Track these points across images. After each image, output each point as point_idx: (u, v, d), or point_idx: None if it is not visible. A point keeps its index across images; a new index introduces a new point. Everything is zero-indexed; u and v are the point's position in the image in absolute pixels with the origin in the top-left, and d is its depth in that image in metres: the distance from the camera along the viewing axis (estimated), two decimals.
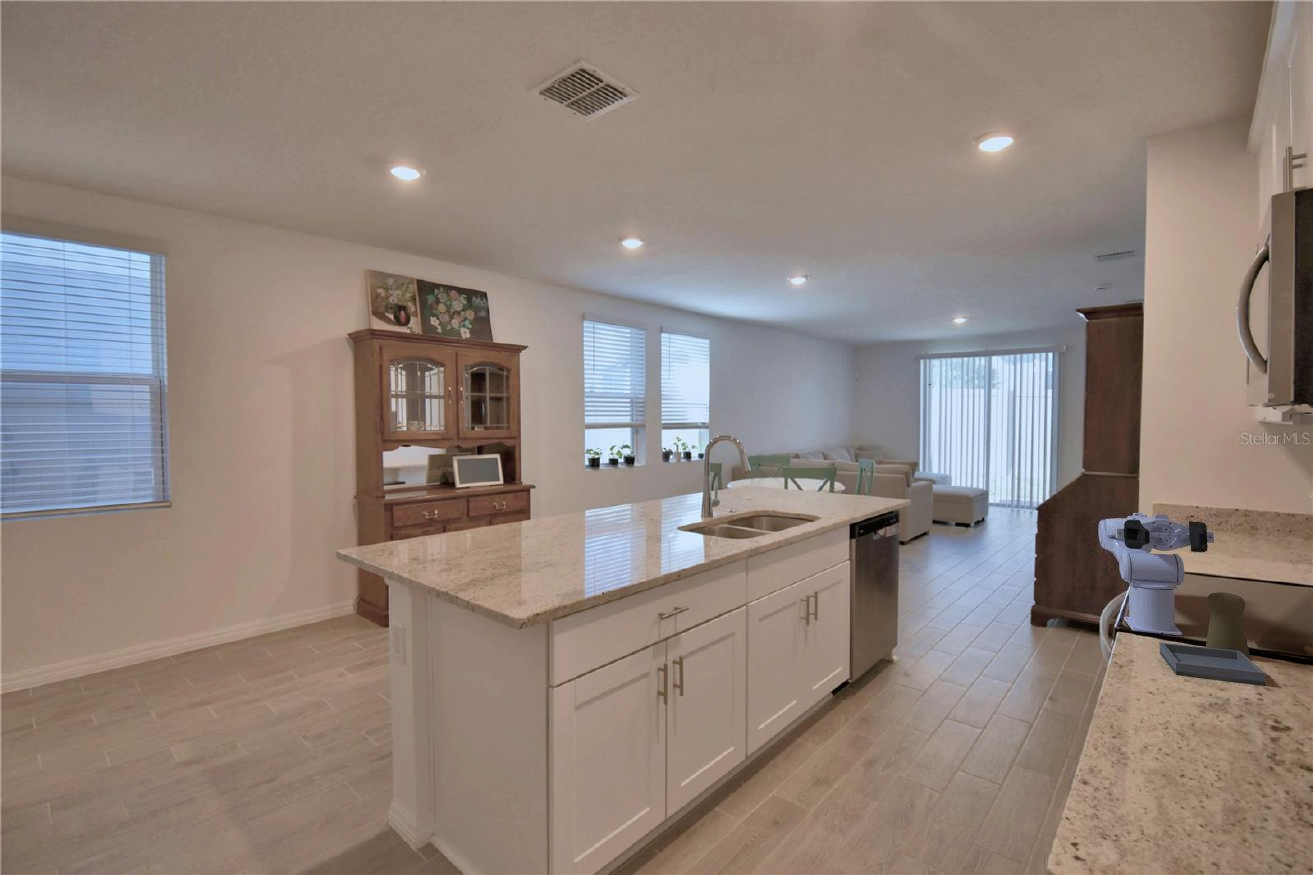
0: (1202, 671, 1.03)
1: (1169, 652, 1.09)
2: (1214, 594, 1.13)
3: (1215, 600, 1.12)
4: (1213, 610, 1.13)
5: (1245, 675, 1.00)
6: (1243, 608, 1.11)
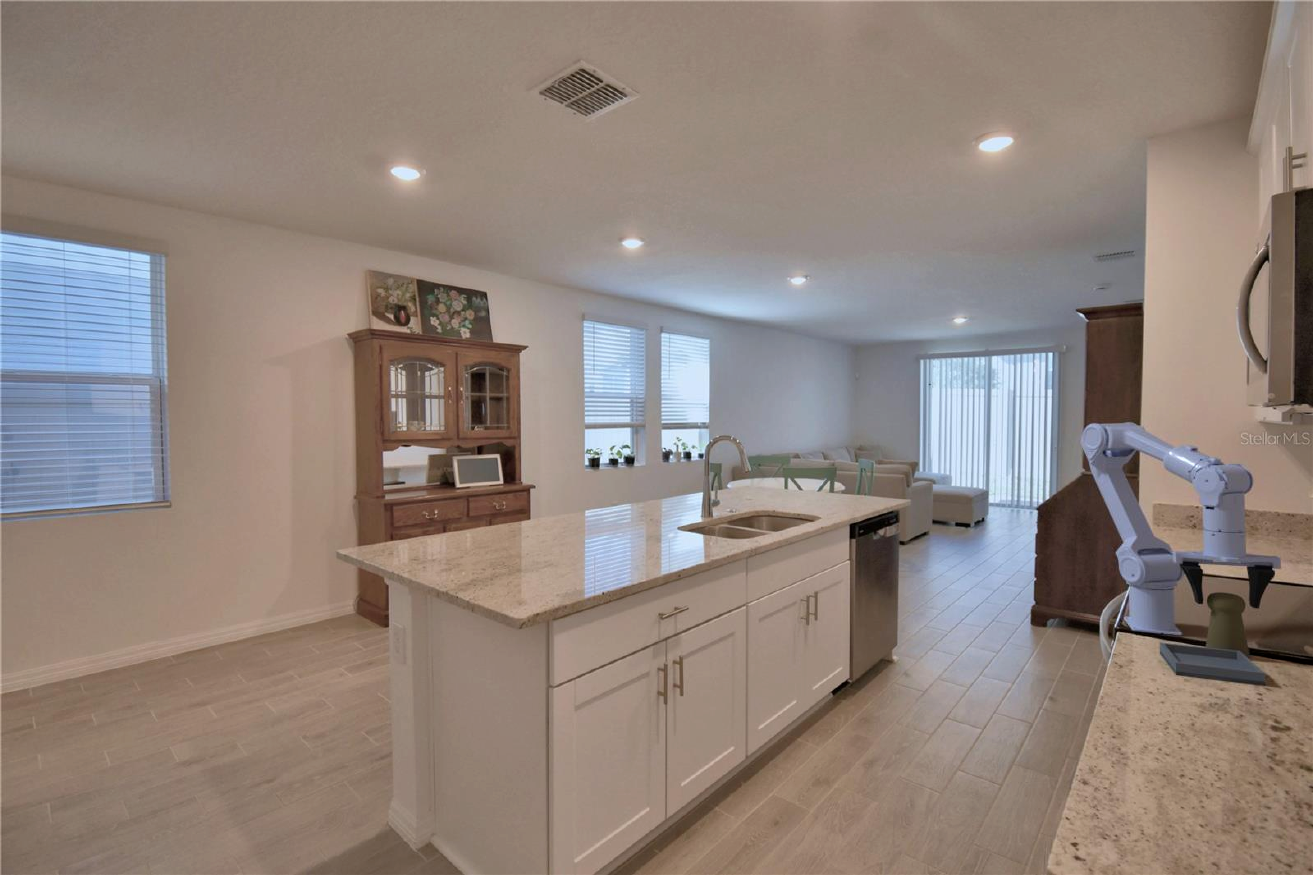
0: (1202, 671, 1.03)
1: (1169, 652, 1.09)
2: (1214, 594, 1.13)
3: (1215, 600, 1.12)
4: (1213, 610, 1.13)
5: (1245, 675, 1.00)
6: (1243, 608, 1.11)
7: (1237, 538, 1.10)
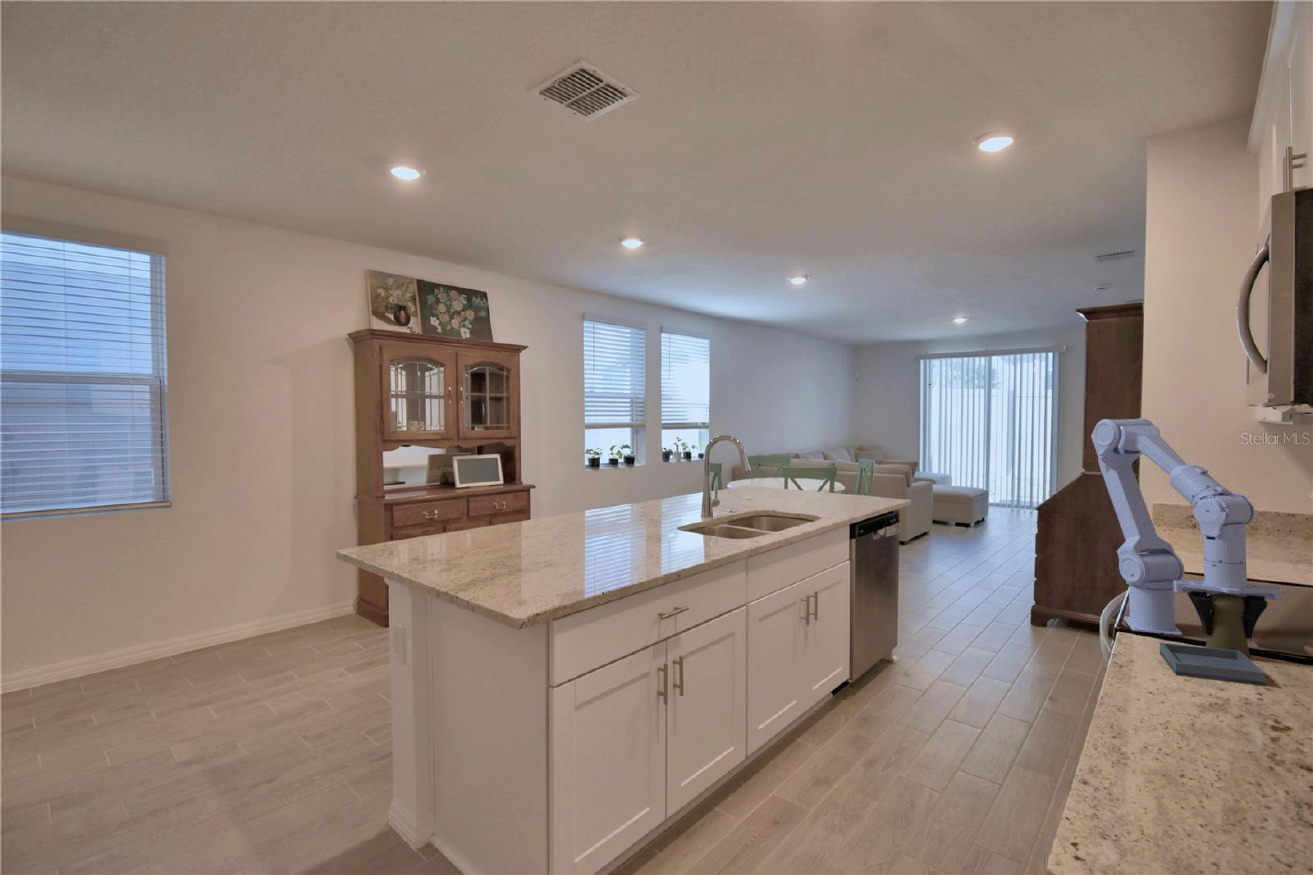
0: (1202, 671, 1.03)
1: (1169, 652, 1.09)
2: (1214, 594, 1.13)
3: (1215, 600, 1.12)
4: (1213, 610, 1.13)
5: (1245, 675, 1.00)
6: (1243, 608, 1.11)
7: (1238, 569, 1.10)
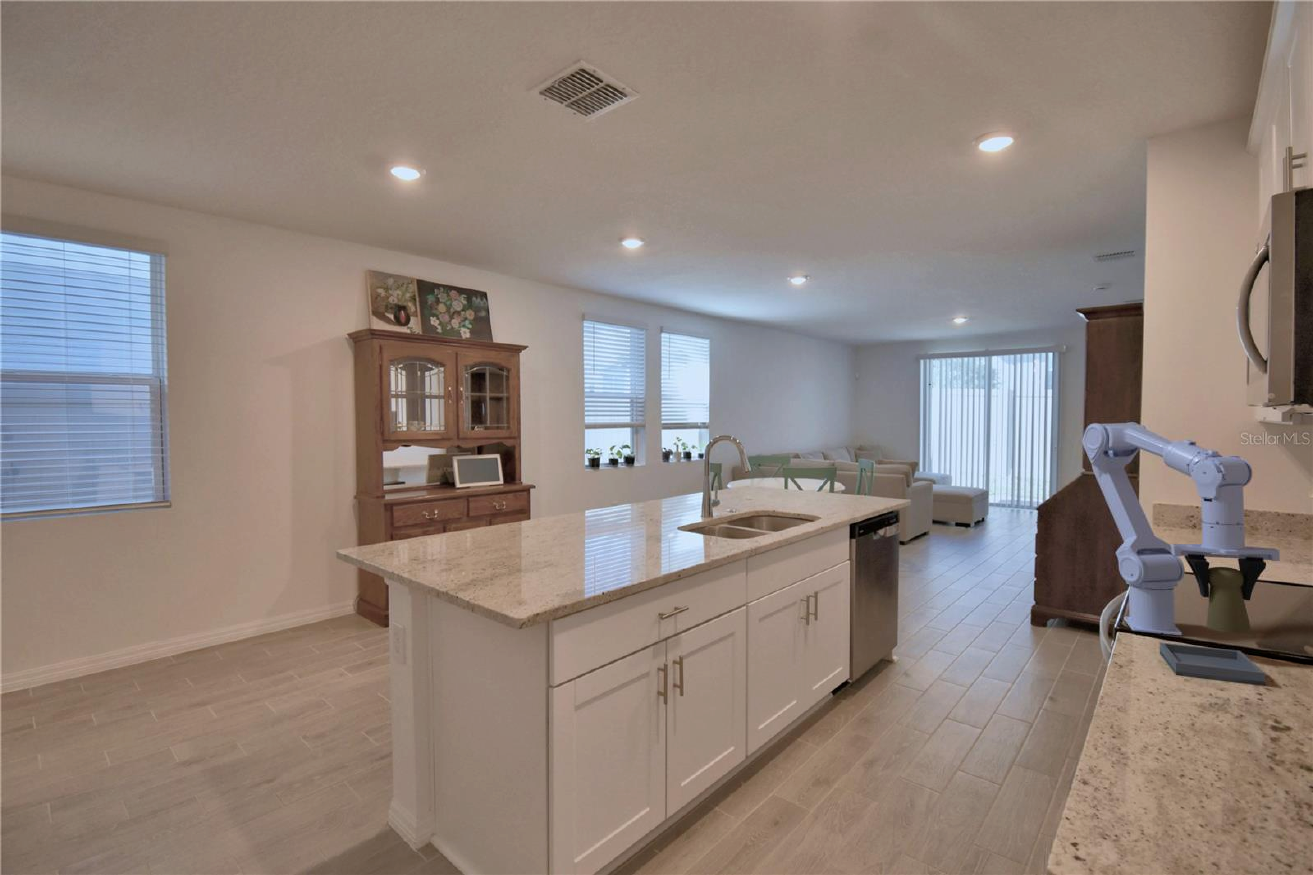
0: (1202, 671, 1.03)
1: (1169, 652, 1.09)
2: (1212, 568, 1.13)
3: (1213, 574, 1.12)
4: (1212, 584, 1.12)
5: (1245, 675, 1.00)
6: (1242, 581, 1.10)
7: (1236, 530, 1.10)
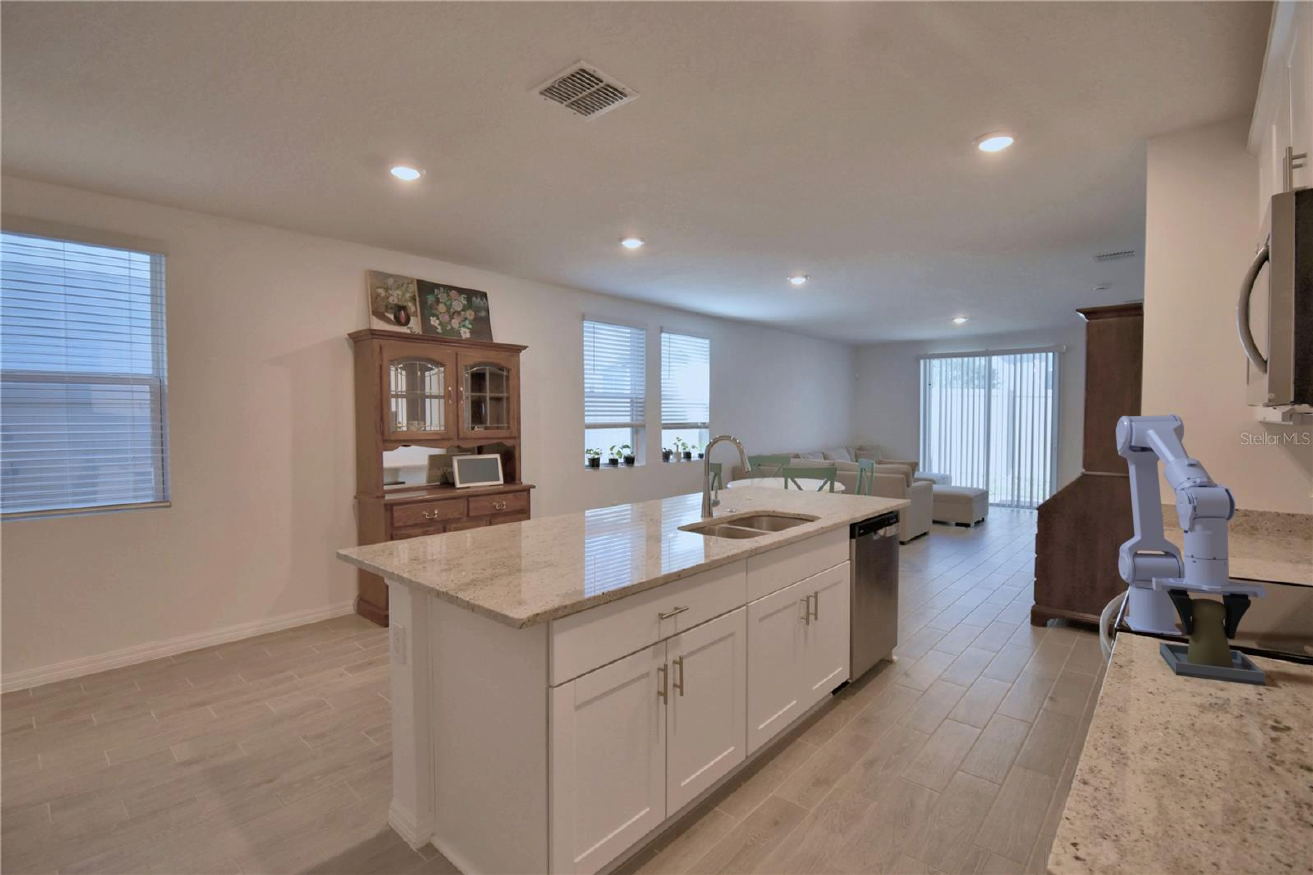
0: (1202, 671, 1.03)
1: (1169, 652, 1.09)
2: (1194, 600, 1.08)
3: (1194, 607, 1.06)
4: (1193, 617, 1.07)
5: (1245, 675, 1.00)
6: (1224, 615, 1.05)
7: (1219, 566, 1.04)
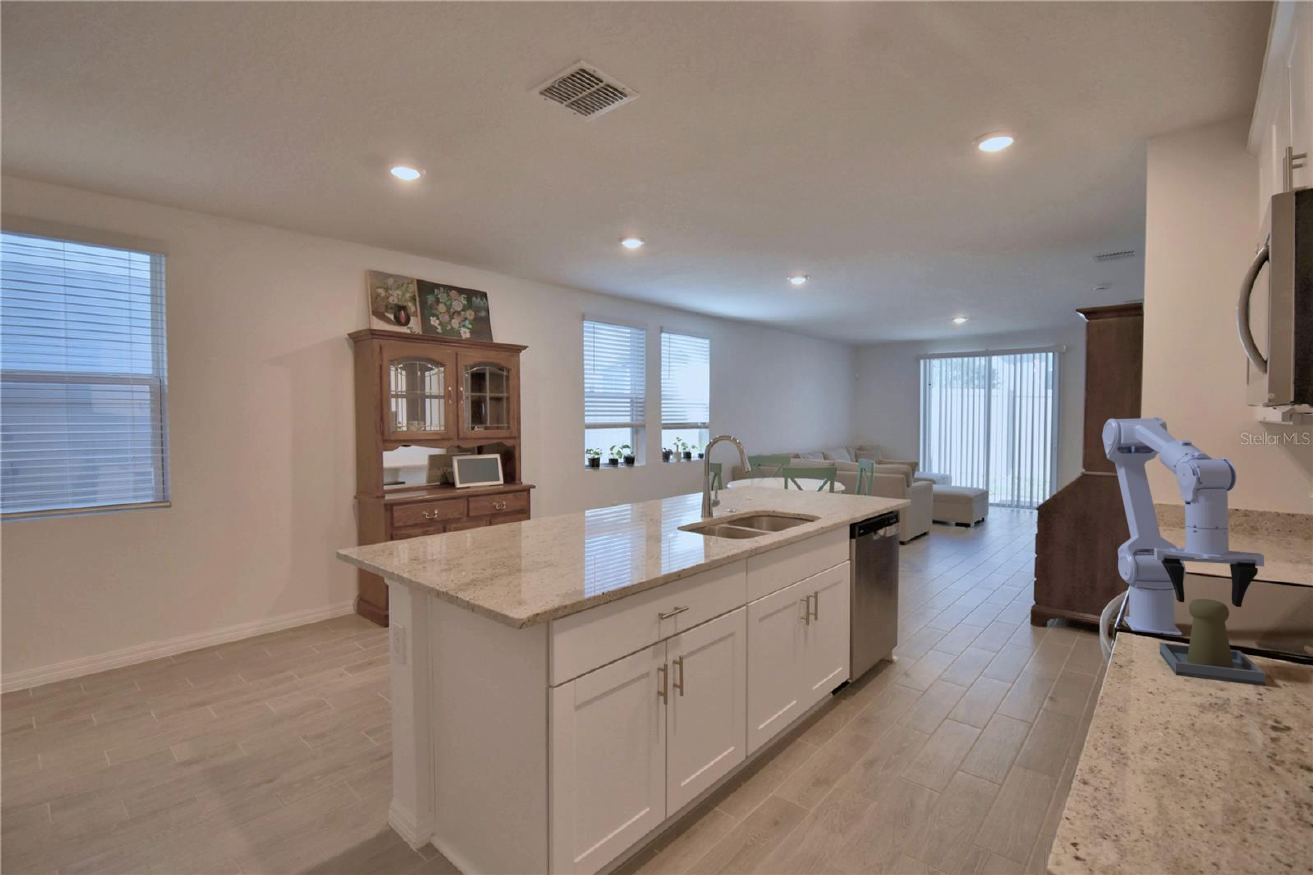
0: (1202, 671, 1.03)
1: (1169, 652, 1.09)
2: (1196, 601, 1.07)
3: (1196, 607, 1.06)
4: (1195, 618, 1.07)
5: (1245, 675, 1.00)
6: (1226, 616, 1.04)
7: (1219, 535, 1.07)
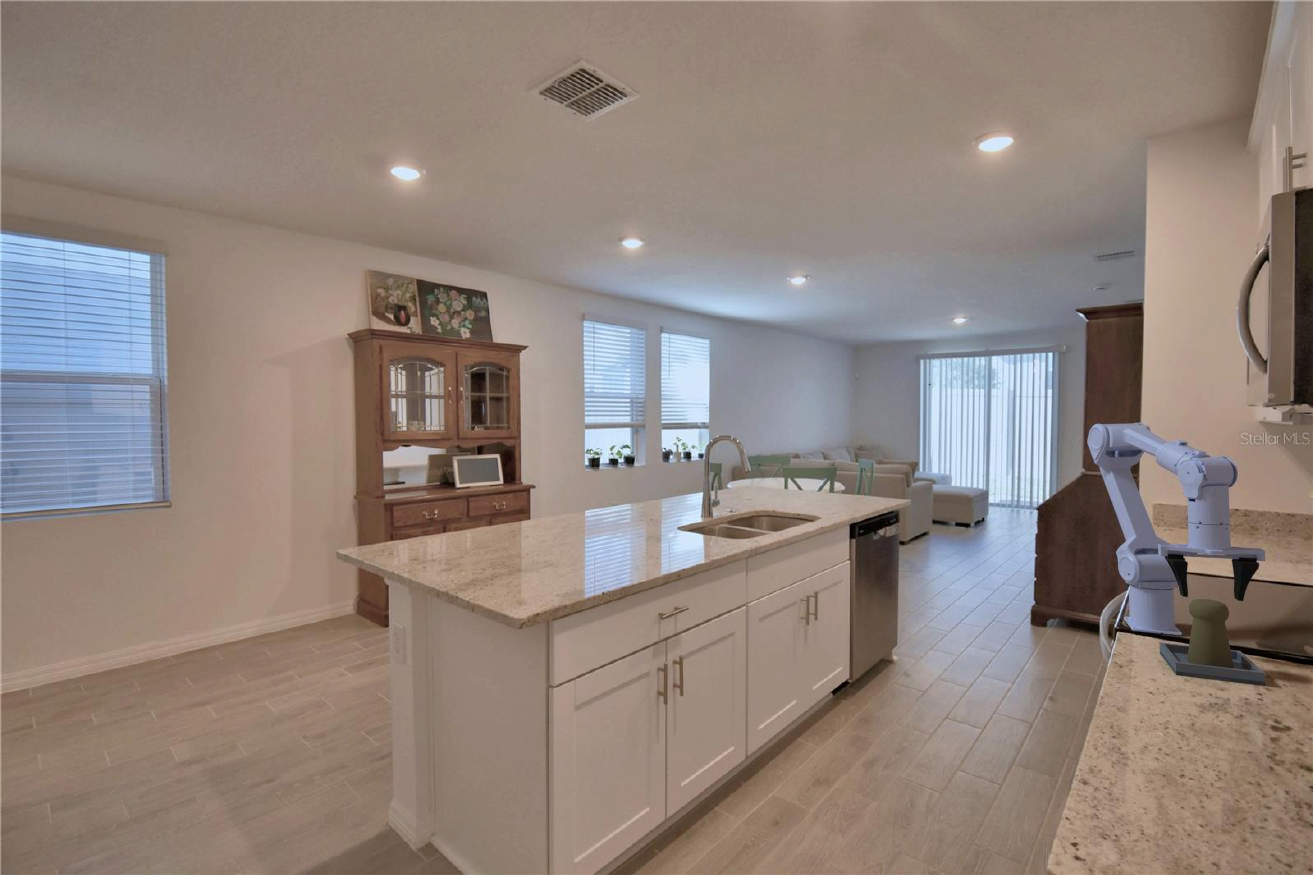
0: (1202, 671, 1.03)
1: (1169, 652, 1.09)
2: (1196, 601, 1.07)
3: (1196, 607, 1.06)
4: (1195, 618, 1.07)
5: (1245, 675, 1.00)
6: (1226, 616, 1.04)
7: (1221, 530, 1.10)
